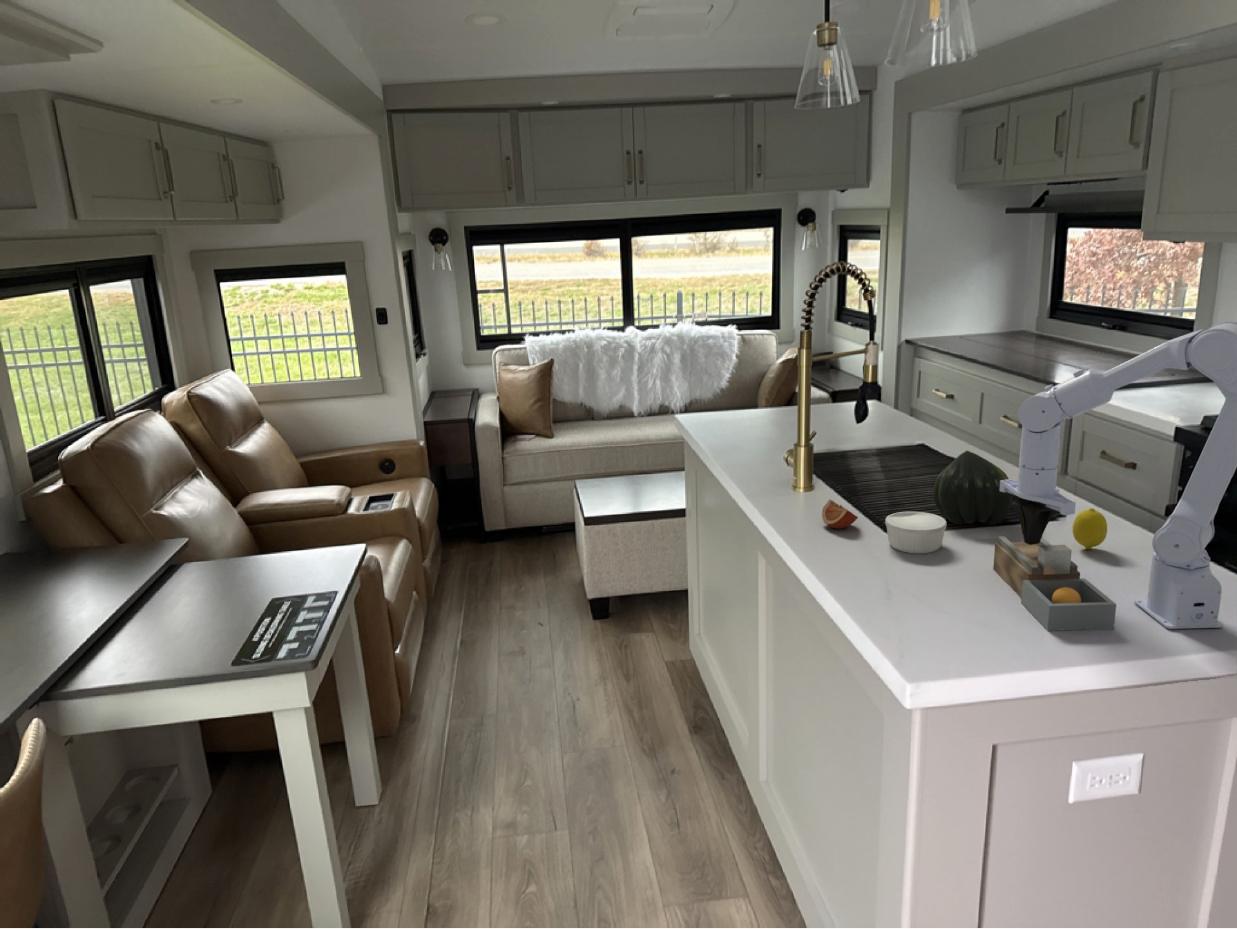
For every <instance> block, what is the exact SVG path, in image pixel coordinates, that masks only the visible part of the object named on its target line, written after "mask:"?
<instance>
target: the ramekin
mask: <svg viewBox="0 0 1237 929" xmlns="http://www.w3.org/2000/svg"><path fill="white" fill-rule="evenodd" d="M884 524H885V526H886V530H887V531H886V532H887V537H888V538H887V539H888V543H889V544H890V545H891V547H892V548H893V549H895V550H897V551H900V552H904V553H907V554H921V555H922V554H930V553H933V552H935V551H936V552H937V550H939V549H940V548H941V546H942V545H943V544H942V543H943V541H944V540H943V539H944V535H945V530H946V528H947V521H946V518H945V517H942V516H940V515H937V514H933V513H929V512H923V511H901V512H895V513H892V514H889V515H887V516H886V517H885V521H884Z"/></svg>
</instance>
